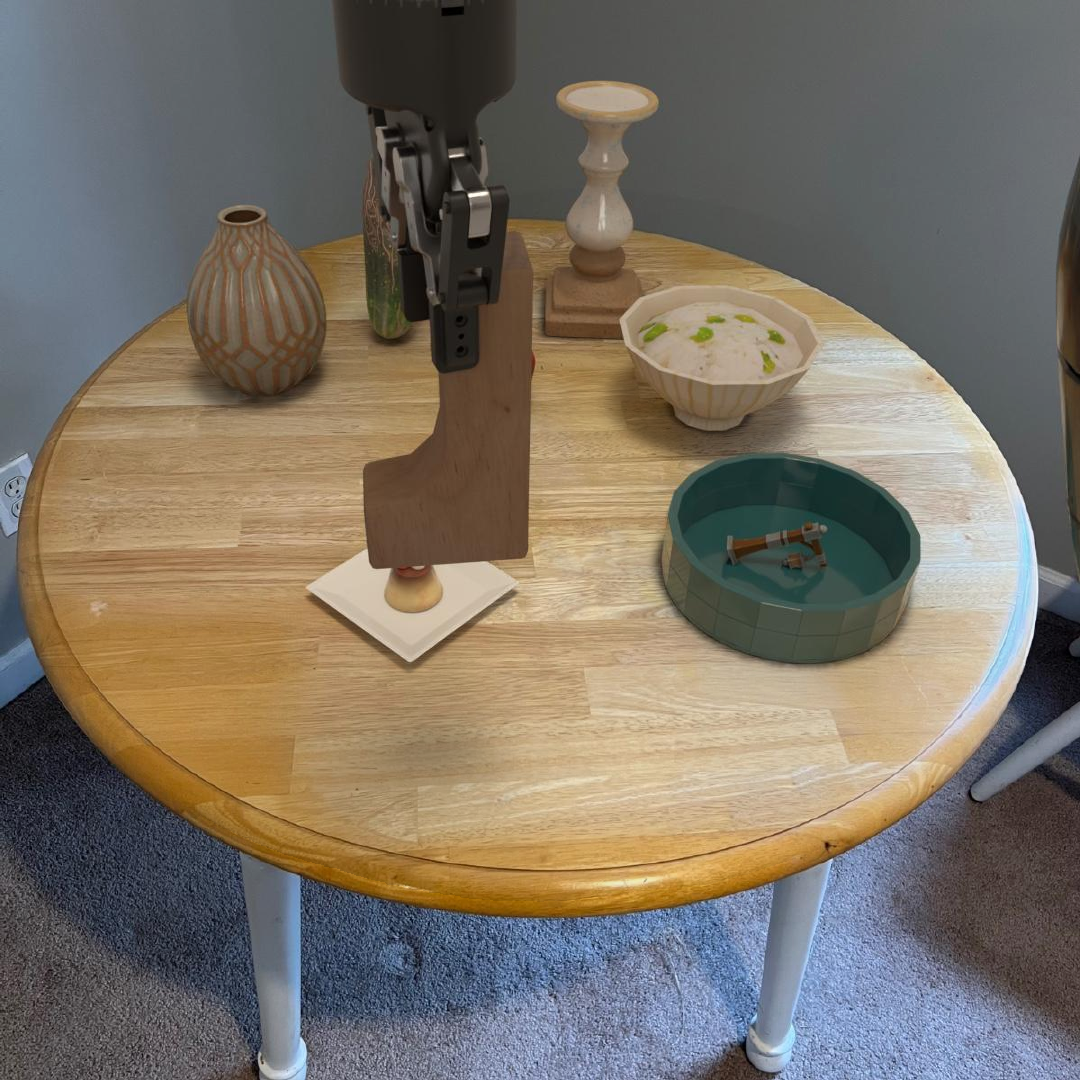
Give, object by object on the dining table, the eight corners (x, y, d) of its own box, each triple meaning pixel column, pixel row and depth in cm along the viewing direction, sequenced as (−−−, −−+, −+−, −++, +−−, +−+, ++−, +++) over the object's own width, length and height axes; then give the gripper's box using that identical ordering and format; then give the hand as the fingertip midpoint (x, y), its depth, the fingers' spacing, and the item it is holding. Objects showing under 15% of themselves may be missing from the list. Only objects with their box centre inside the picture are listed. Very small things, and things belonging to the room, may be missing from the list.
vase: (239, 429, 104) (208, 258, 93) (178, 371, 112) (143, 207, 100) (357, 385, 111) (341, 220, 99) (292, 333, 118) (271, 175, 107)
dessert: (306, 597, 87) (299, 551, 83) (416, 527, 94) (413, 482, 90) (410, 673, 81) (407, 626, 78) (520, 592, 88) (521, 546, 85)
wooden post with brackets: (838, 569, 89) (825, 527, 86) (741, 587, 92) (726, 547, 89) (837, 555, 90) (824, 513, 88) (742, 573, 93) (726, 533, 90)
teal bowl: (954, 627, 86) (974, 575, 82) (734, 690, 80) (745, 637, 77) (819, 484, 100) (830, 434, 96) (623, 530, 94) (628, 478, 90)
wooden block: (369, 572, 61) (338, 275, 50) (368, 522, 65) (339, 234, 53) (528, 561, 62) (534, 267, 51) (519, 512, 66) (522, 227, 54)
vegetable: (407, 317, 122) (397, 137, 109) (439, 339, 118) (432, 156, 105) (360, 333, 119) (344, 149, 106) (391, 357, 115) (379, 170, 102)
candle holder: (644, 339, 119) (666, 117, 104) (544, 336, 119) (551, 113, 104) (640, 292, 127) (659, 80, 112) (546, 289, 128) (553, 76, 112)
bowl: (584, 375, 113) (589, 287, 107) (752, 349, 118) (766, 263, 112) (657, 483, 99) (668, 389, 93) (844, 449, 104) (866, 357, 98)
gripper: (293, -65, 48) (332, 290, 59) (379, 22, 38) (407, 431, 49) (456, -74, 50) (464, 270, 61) (579, 5, 40) (562, 401, 51)
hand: (439, 340), depth 55 cm, fingers closed on wooden block, 4 cm apart
